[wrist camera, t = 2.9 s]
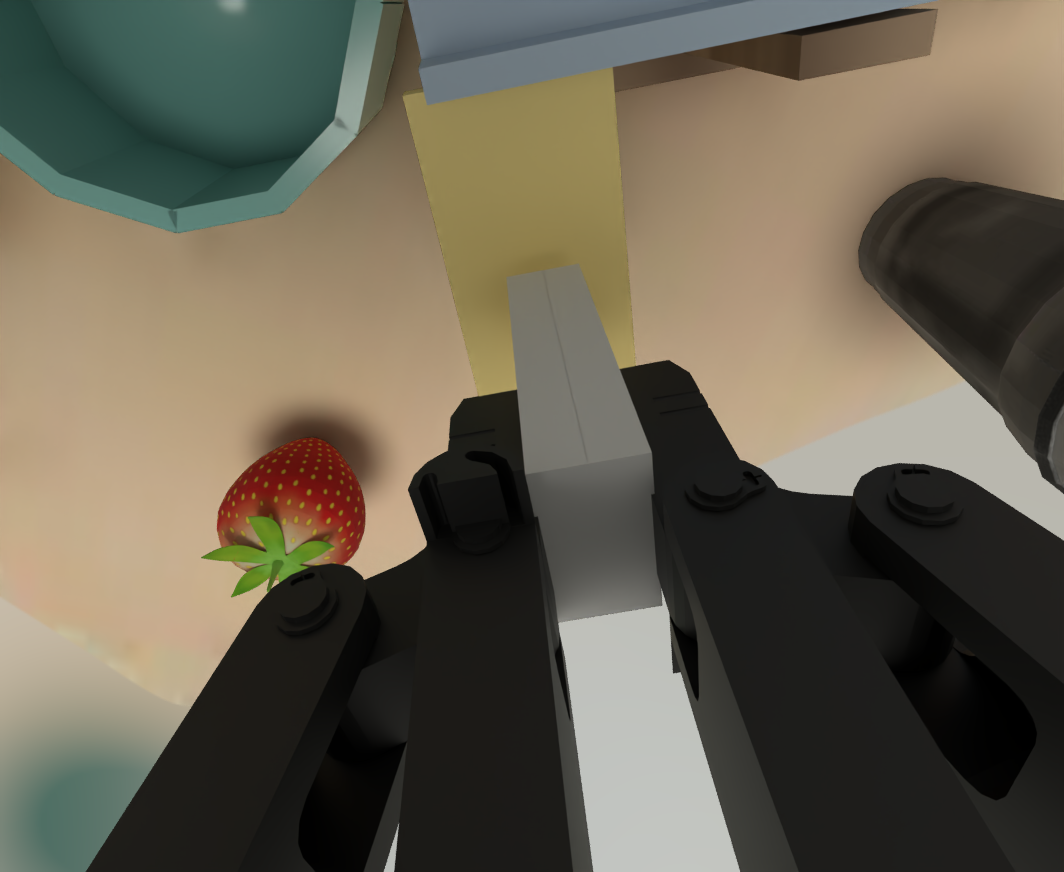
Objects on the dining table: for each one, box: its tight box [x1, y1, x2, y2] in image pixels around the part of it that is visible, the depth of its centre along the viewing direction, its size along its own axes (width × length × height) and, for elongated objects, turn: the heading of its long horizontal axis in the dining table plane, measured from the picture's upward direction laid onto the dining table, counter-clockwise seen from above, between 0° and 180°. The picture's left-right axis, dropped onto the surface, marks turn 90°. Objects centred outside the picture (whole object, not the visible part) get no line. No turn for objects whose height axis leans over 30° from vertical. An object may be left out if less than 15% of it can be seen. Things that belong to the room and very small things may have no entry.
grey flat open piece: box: [403, 0, 937, 396], centre depth 11 cm, size 18×13×3 cm
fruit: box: [201, 438, 365, 597], centre depth 25 cm, size 5×5×8 cm
